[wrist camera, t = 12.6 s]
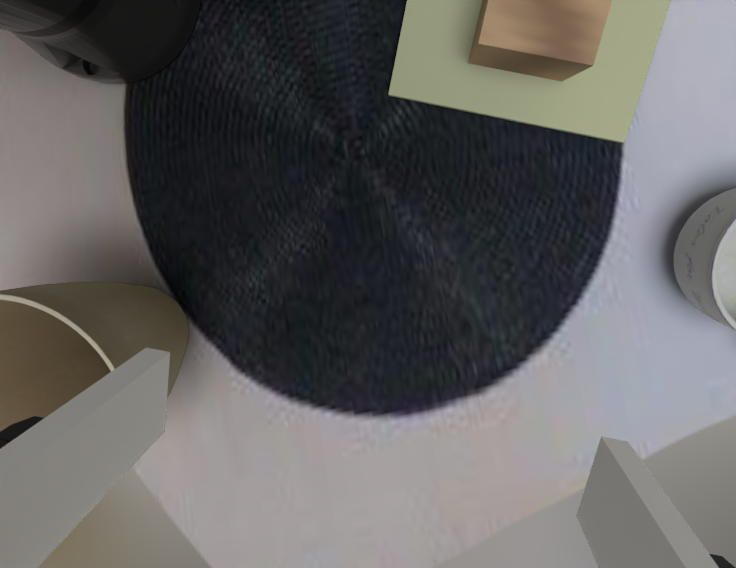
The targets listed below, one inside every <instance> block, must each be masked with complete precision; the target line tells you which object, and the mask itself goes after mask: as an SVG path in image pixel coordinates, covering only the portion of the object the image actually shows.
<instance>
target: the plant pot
mask: <svg viewBox="0 0 736 568" xmlns="http://www.w3.org/2000/svg"><path fill="white" fill-rule="evenodd" d="M188 334H189V328H188V322H187V318H186V316H185V314H184V312H183V310H182V308H181V307H180V305H179V304H178V303H177V302H176V301H175V300H174V299H173V298H172V297H171V296H169V295H168V294H166V293H165V292H163V291H160V290H158V289H155V288H151V287H146V286H140V285H133V284H125V283H110V282H75V283H58V284H46V285H38V286H30V287H22V288H16V289H9V290H2V291H0V432H1V431H2V430H4V429H5V428H7V427H8V426H10V425H12V424H14V423H17V422H20V421H22V420H25V419H28V418H30V417H33V416H37V417H42V418H45V417H47V416H48V415H50V414H51V413H53V412H54V411H56V410H57V409H58V408H60V407H61V406H63V405H64V404H66V403H67V402H68V401H70V400H71V399H73V398H74V397H76V396H77V395H79V394H80V393H81V392H83V391H84V390H86V389H87V388H89V387H90V386H92V385H93V384H94V383H96V382H97V381H99V380H100V379H102V378H103V377H104V376H106V375H107V374H109V373H110V372H112V371H113V370H115V369H116V368H117V367H119V366H120V365H122V364H123V363H125V362H126V361H128V360H129V359H130V358H132V357H133V356H135V355H136V354H138V353H139V352H140V351H142V350H143V349H145V348H152V349H157V350H162V351H167V352H170V362H169V377H168V392H167V398H168V396H169V394H170V392H171V390H172V387H173V385H174V382H175V380H176V378H177V375H178V372H179V369H180V366H181V363H182V360H183V357H184V353H185V349H186V345H187V341H188Z"/></svg>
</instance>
